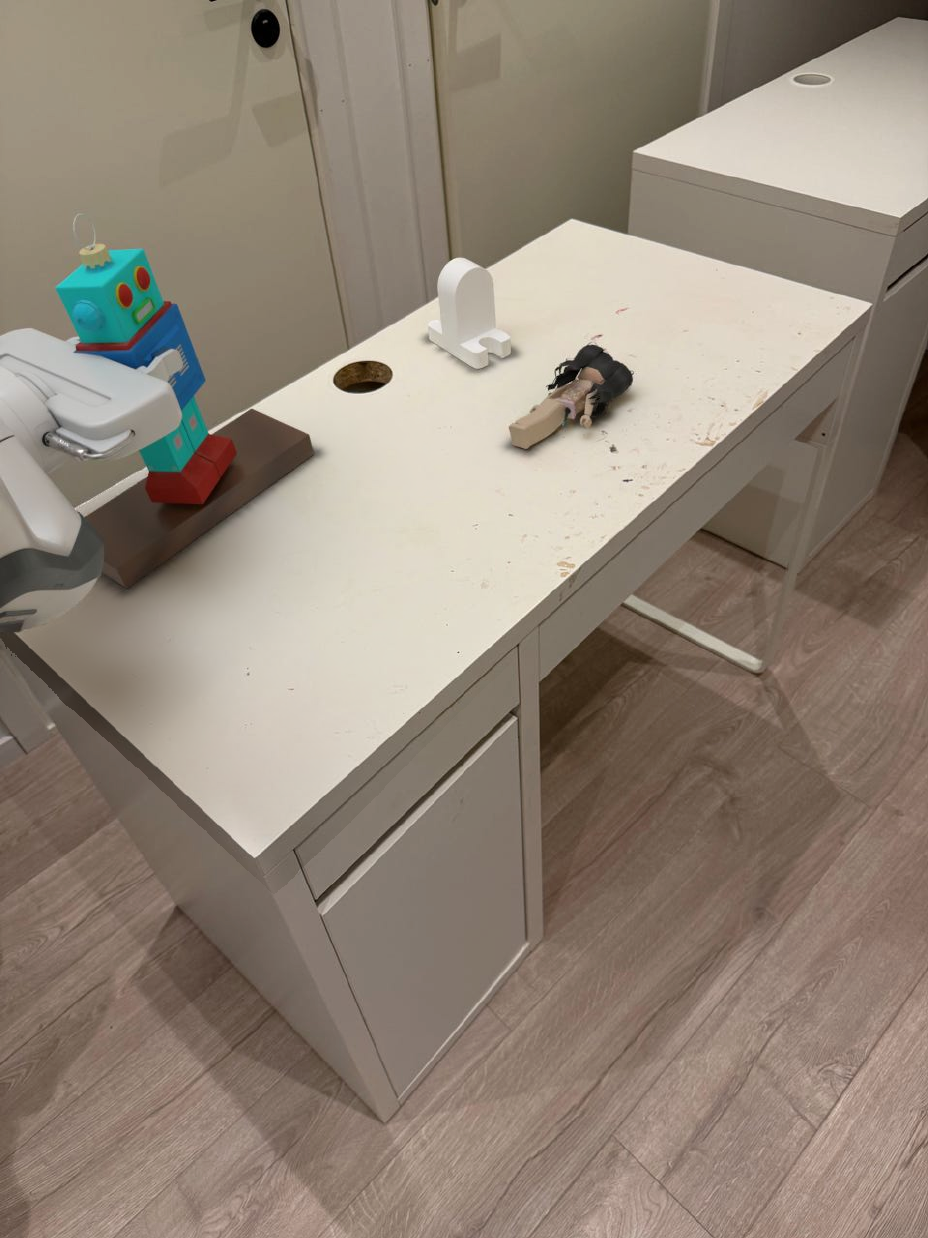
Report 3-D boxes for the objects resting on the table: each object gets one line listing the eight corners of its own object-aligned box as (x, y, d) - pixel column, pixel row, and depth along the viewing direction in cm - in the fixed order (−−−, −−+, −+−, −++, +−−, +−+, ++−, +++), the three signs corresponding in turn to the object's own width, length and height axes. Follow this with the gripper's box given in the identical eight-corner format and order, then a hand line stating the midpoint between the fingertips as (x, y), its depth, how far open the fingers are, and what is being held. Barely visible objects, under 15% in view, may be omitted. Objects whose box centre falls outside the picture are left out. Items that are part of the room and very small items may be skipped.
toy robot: (195, 516, 81) (75, 243, 64) (137, 514, 83) (5, 247, 65) (244, 444, 89) (148, 184, 72) (190, 443, 91) (84, 188, 73)
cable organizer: (477, 370, 100) (470, 285, 93) (427, 338, 106) (416, 256, 99) (513, 352, 102) (509, 268, 95) (462, 322, 108) (454, 241, 101)
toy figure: (563, 467, 87) (642, 388, 94) (554, 413, 83) (638, 334, 90) (506, 452, 91) (586, 377, 98) (495, 399, 87) (579, 325, 94)
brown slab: (126, 589, 80) (116, 569, 78) (71, 552, 85) (60, 532, 83) (314, 454, 92) (309, 434, 90) (257, 427, 96) (251, 407, 95)
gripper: (74, 429, 62) (218, 340, 70) (-78, 358, 72) (63, 285, 79) (108, 499, 67) (239, 409, 74) (-39, 423, 76) (90, 349, 83)
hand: (147, 344), depth 77 cm, fingers closed on toy robot, 6 cm apart
